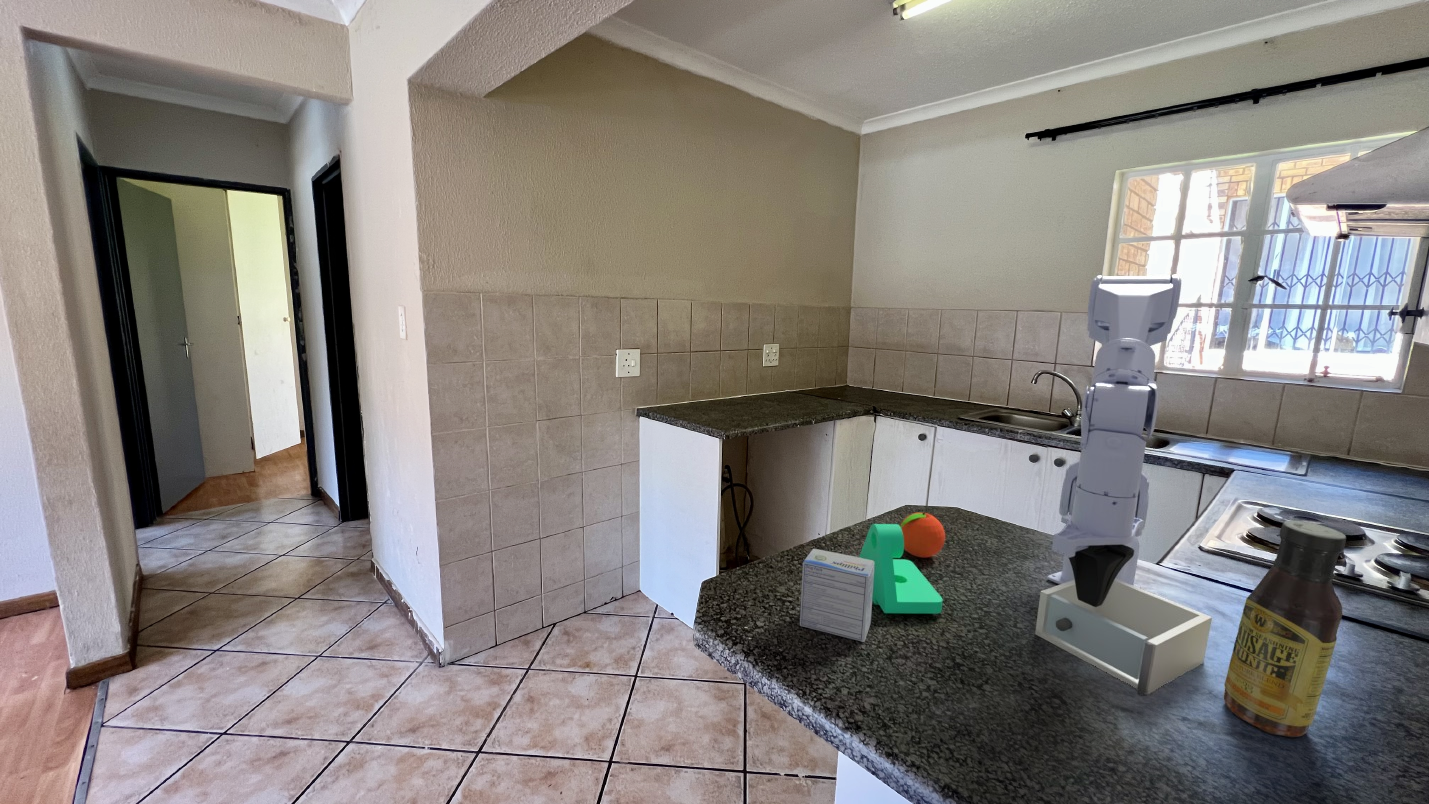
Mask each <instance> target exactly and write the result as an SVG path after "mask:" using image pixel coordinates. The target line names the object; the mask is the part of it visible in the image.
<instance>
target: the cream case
mask: <svg viewBox="0 0 1429 804" xmlns="http://www.w3.org/2000/svg"><path fill="white" fill-rule="evenodd" d="M1052 595H1057V596H1059V597H1061V598H1064V599H1066V600H1068V601H1070V602H1072V603H1074V604H1077V605H1079V606H1081V607H1083V608H1085V609H1087V610H1090V611H1092V612H1094V613H1096V614H1098V615H1100V616H1103V617H1105V618H1107V619H1109V620H1111V621H1113V622H1116V623H1118V624H1120V625H1122V626H1124V627H1126V628H1128V629H1131V630H1133V631H1135V632H1137V633H1139V634H1141V635H1144V636H1146V637H1148V640H1147V642H1145V646H1144V651H1143V657H1142V663H1141V669H1140V675H1139V679H1138V680H1137V679H1135V678H1133V677H1131V676H1129V675H1127V674H1125V673H1123V672H1121V671H1120V670H1118V669H1116V668H1114V667H1112V666H1110V665H1108V664H1106V663H1104V662H1103V661H1101V660H1099V659H1097V658H1095V657H1093V656H1091V655H1089V654H1087V653H1085V652H1084V651H1082V650H1080V649H1078V648H1076V647H1074V646H1072V645H1070V644H1068V643H1066V642H1065V641H1063V640H1061V639H1059V638H1057V637H1055V636H1053V635H1051V634H1049V633H1048V632H1046V627H1047V619H1048V612H1049V605H1050V597H1051V596H1052ZM1039 596H1040V597H1039V603H1038V608H1037V609H1038V610H1037V618H1036V624H1035V632H1034V634H1035V635H1036V636H1038V637H1040V638H1041V639H1044V640H1046V641H1047V642H1049V643H1051V644H1053V645H1054V646H1056V647H1058V648H1060V649H1062V650H1064V651H1066V652H1067V653H1069V654H1071V655H1074V656H1075V657H1076V658H1079V659H1081V660H1083V661H1084V662H1086V663H1088V664H1090V665H1091V666H1093V665H1094V667H1095V666H1096V667H1095V668H1098V669H1099V670H1100V671H1103V672H1105V673H1106V672H1107V673H1106V674H1108V675H1110V676H1112V677H1114V678H1115V679H1117V678H1118V679H1117V680H1119V679H1120V681H1121V680H1122V681H1121V682H1123V681H1124V682H1123V683H1125V682H1126V683H1125V684H1127V683H1128V684H1127V685H1129V684H1130V685H1131V687H1132V686H1133V687H1132V688H1134V689H1136V693H1137V694H1138V695H1139V696H1145V695H1147V696H1148V695H1150V694H1152V693H1153V692H1155V691H1157V690H1159V689H1160V688H1162V687H1164V686H1165V685H1164V684H1166V683H1167V682H1169V681H1171V680H1173V679H1174V680H1176V679H1178V678H1179V677H1178V676H1180V675H1181V676H1183V675H1185V674H1186V672H1187V671H1188V672H1190V671H1192V670H1194V669H1195V668H1197V667H1199V666H1201V665H1202V664H1204V663H1205V658H1206V657H1205V656H1206V651H1207V647H1208V641H1209V634H1210V631H1211V627H1212V626H1211V625H1212V619H1213V617H1212V616H1210V615H1208V614H1205V613H1203V612H1200V611H1198V610H1195V609H1193V608H1190V607H1188V606H1185V605H1183V604H1181V603H1177V602H1176V601H1172V600H1170V599H1167V598H1164V597H1162V596H1159V595H1158V594H1155V593H1152V592H1150V591H1148V590H1145V589H1143V588H1141V589H1140V588H1138V587H1135V586H1133V585H1130V584H1128V583H1125V582H1123V581H1120V580H1118V579H1115V580H1114V582H1113V584H1112V586H1111V588H1110V590H1109V592H1108V594H1107V596H1106V598H1105V600H1104V602H1103V604H1102V605H1100V606H1098V607H1093V606H1091V605H1089V604H1087V603H1084V602H1082V601H1080V600H1078V598H1077V592H1076V586H1075V579H1074V580H1072V581H1069V582H1066V583H1063V584H1058V585H1055V586H1051V587H1050V588H1049V587H1048V588H1046V589H1044V590H1040V594H1039ZM1200 664H1201V665H1200ZM1196 666H1197V667H1196ZM1193 668H1194V669H1193ZM1191 669H1192V670H1191ZM1189 670H1190V671H1189ZM1188 672H1187V673H1188ZM1184 673H1185V674H1184ZM1181 676H1180V677H1181ZM1177 677H1178V678H1177ZM1175 678H1176V679H1175ZM1174 680H1173V681H1174ZM1171 682H1172V681H1171ZM1169 683H1170V682H1169ZM1167 684H1168V683H1167ZM1167 684H1166V685H1167ZM1130 685H1129V686H1130ZM1163 685H1164V686H1163ZM1161 686H1162V687H1161ZM1159 687H1160V688H1159ZM1158 688H1159V689H1158ZM1156 689H1157V690H1156ZM1151 692H1152V693H1151Z"/></svg>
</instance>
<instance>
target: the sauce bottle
mask: <svg viewBox="0 0 1429 804" xmlns="http://www.w3.org/2000/svg"><path fill="white" fill-rule="evenodd" d="M1279 538H1280V543H1279V547H1278V550H1277V555H1276V557H1275V559H1274V562H1273V565H1271V567H1270V569H1269V570H1268V571H1267V572H1266V574H1265V575H1264V576H1263V578H1262V579H1261V580H1260V581H1259V583H1258V584H1257V585H1256V586H1255V588H1254V589H1253V590H1252V592H1251V593H1250V594H1249V595H1248V596H1247V597H1246V599H1245V602H1244V606H1243V609H1242V615H1241V618H1240V622H1239V624H1238V630H1237V633H1236V634H1237V635H1236V637H1235V640H1234V643H1233V650H1232V654H1231V656H1230V657H1231V658H1230V660H1229V661H1230V662H1229V665H1228V670H1227V672H1226V673H1227V674H1226V678H1225V681H1224V685H1223V686H1224V694H1223V701H1224V703H1225V705H1226V706H1227V708H1228V709H1229V710H1230V711H1231V712H1232V713H1233V714H1234V715H1236V717H1237V718H1239V719H1241V720H1243V721H1244V722H1246V723H1249V724H1250V725H1251V726H1254V727H1255V728H1258V729H1259V730H1261V731H1263V732H1266V733H1268V734H1271V735H1276V736H1282V737H1287V738H1288V737H1289V738H1296V737H1302V736H1304V735H1305V734H1306V733H1307V732H1308V730H1309V727H1310V725H1312V724H1313V721H1314V720H1315V717H1316V716H1315V715H1316V712H1317V709H1318V706H1319V702H1320V698H1321V696H1322V695H1321V694H1322V692H1323V688H1324V686H1325V683H1326V679H1327V675H1328V672H1329V668H1330V664H1331V661H1332V658H1333V653H1334V651H1335V647H1336V644H1337V641H1338V640H1337V639H1338V637H1337V633H1338V629H1339V628H1340V624H1341V621H1342V618H1343V605H1342V603H1341V600H1340V598H1339V596H1338V594H1337V593H1336V591H1335V588H1334V586H1333V585H1334V584H1333V579H1335V574H1334V572H1335V569H1336V565H1337V561H1338V558H1339V555H1340V554H1341V553H1342V552H1343V551H1344V550H1345V546H1346V541H1347V536H1346V535H1345V534H1344V533H1342V532H1341V531H1339V530H1337V529H1334V528H1331V527H1327V526H1326V525H1321V524H1318V523H1313V522H1307V521H1302V520H1284V521H1283V523H1282V525H1281V528H1280V531H1279Z"/></svg>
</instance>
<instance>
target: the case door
mask: <svg viewBox="0 0 1429 804" xmlns="http://www.w3.org/2000/svg"><path fill="white" fill-rule="evenodd" d="M1046 632H1048V633H1049V634H1051V635H1053V636H1055V637H1057V638H1059V639H1061V640H1063V641H1065V642H1066V643H1068V644H1070V645H1072V646H1074V647H1076V648H1078V649H1080V650H1082V651H1084V652H1085V653H1087V654H1089V655H1091V656H1093V657H1095V658H1097V659H1099V660H1101V661H1103V662H1104V663H1106V664H1108V665H1110V666H1112V667H1114V668H1116V669H1118V670H1120V671H1121V672H1123V673H1125V674H1127V675H1129V676H1131V677H1133V678H1135V679H1137V680H1138V679H1139V675H1140V669H1141V663H1142V657H1143V651H1144V646H1145V642H1147V640H1148V637H1146V636H1144V635H1141V634H1139V633H1137V632H1135V631H1133V630H1131V629H1128V628H1126V627H1124V626H1122V625H1120V624H1118V623H1116V622H1113V621H1111V620H1109V619H1107V618H1105V617H1103V616H1100V615H1098V614H1096V613H1094V612H1092V611H1090V610H1087V609H1085V608H1083V607H1081V606H1079V605H1077V604H1074V603H1072V602H1070V601H1068V600H1066V599H1064V598H1061V597H1059V596H1057V595H1052V596H1051V597H1050V605H1049V612H1048V619H1047V627H1046Z"/></svg>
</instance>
